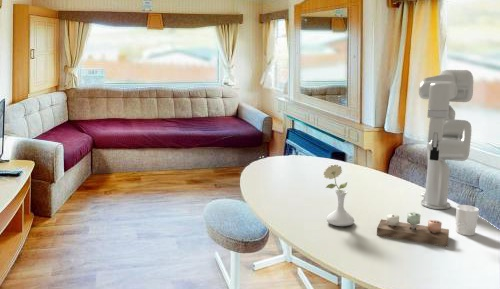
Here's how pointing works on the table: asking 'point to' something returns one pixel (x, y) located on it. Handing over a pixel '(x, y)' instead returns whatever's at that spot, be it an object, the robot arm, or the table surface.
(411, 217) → the plunger
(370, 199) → the table surface
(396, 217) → the plunger
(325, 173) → the flower in vase
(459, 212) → the white cup
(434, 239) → the button board
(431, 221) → the plunger
